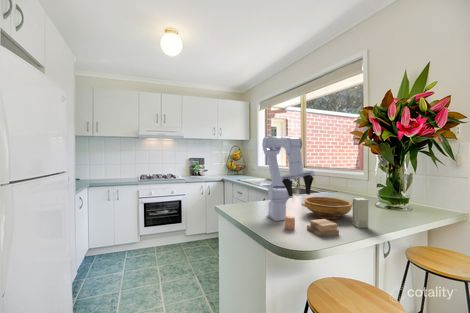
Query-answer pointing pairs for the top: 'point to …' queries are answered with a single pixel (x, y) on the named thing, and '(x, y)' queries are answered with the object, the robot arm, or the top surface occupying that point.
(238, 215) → the top surface
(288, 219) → the peach capsule
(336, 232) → the bottom block
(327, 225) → the top block
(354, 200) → the box
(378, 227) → the top surface
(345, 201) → the wooden bowl
